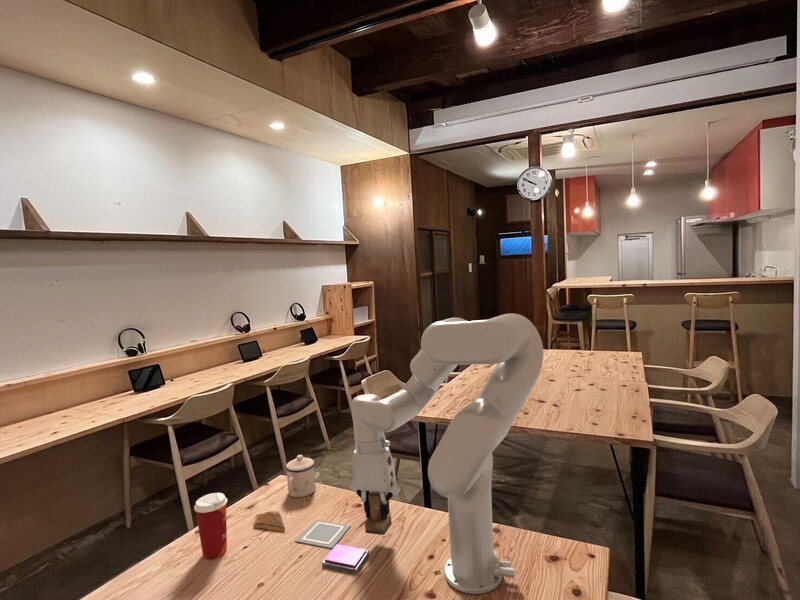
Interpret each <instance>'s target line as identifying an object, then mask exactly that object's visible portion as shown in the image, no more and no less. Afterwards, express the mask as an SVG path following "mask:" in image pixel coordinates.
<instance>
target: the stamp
mask: <svg viewBox="0 0 800 600" xmlns="http://www.w3.org/2000/svg"><path fill="white" fill-rule="evenodd" d="M368 497H369V507H370V517H369V518H366V519H365V521H364V532H365V533H366V534H371V535H372V534H374V535H378V536H385V534H386V533H387V532H388V530H389V529H390V527H391V526H392V524H393V523H392V514H391V512H390V513H389V515H388V516H387V517H386V519H385V520H382V519H381V509H380V504H381V503H382V501H381V496H380V492H374V491H370V493H369V494H368Z"/></svg>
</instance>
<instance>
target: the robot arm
mask: <svg viewBox="0 0 800 600" xmlns="http://www.w3.org/2000/svg"><path fill="white" fill-rule="evenodd" d="M420 339H421V340H420V347H421V349H419V351H418V353H417V354H416V355H415V356H414V357H413V358H412V359H411V361H410V364H409V368H410V372H411V374H412V375H411V377H410V378H409V379H408V381H407V382H406V383H405V384H404V385H403V386H402V387H401V389H400V390H398V391H396V392H394V393H392V394H390V395H389V396H386V397H384V398H381V397H380V396H379V395H377V394H374V393H365V394H360V395H357V396H355V397H353V398H352V400H351V403H350V404H351V415H352V416H351V417H352V424H353V435H354V445H355V446H354V447H355V449H354V450H353V456H352V481H351V483H350V486H349V488H350V490H351V491H353V492H354V493H356V495H357V496H358V497H359V498H360V500H361V502H362V503H363V509H364V513H365V518H366V519H367V518H369V517H370V507H369V497H368V494H369V493H370V492H373V491H374V492H380V496H381V501H382V503H381V504H380V509H381V519H382V520H385V519H386V517H387V516H388V515H389V513H391V510H390V500H391V499H392V498H393V497H394V496H396V495H397V494H399V493H400V492H401V487H400V486H399V484H398V482H397V479H396V478H397V477H396V472H395V465H394V461H393V457H392V454H391V450H390V448H389V447H390V446H391V440H387V438H386V436H385V433H389V432H392V431H395V430H397V429H398V428H400V427H401V426H402V425H404V424H405V423H408V422H409V421H411V420H412V419H414V418H415V417H416V416H417V415H419V413H421V411H423V409H424V408H425V407H426V406H427V404H429V403H430V402H431V400H432V399H433V398H434V396H435V395H436V393H437V392H438V390H439V388H440V386H441V385H442V384H443V383H444V381H446V379H447V378H448V377H449V376H450V375H451V373H452V372H454V370H455V369H456V368H457V367H458V365H460V366H461V365H465V366H467V365H496V366H495V367H494V369H493V370H492V372H491V374H490V375H489V377H488V379H487V381H486V383H485V385H484V386H483V388H482V389H481V391H480V393H478V395H477V397H476V398H475V399H474V400H473V401H471V402H470V403H469V404H467V405H466V406H465V407H464V408H462V409H461V410H460V411H458V413H456V414H455V416H454V417H453V418H452V420H451V421H450V422H449V424H448V426H447V428H446V429H445V431H444V433H443V435H442V437H441V439H440V441H439V442H438V444H437V446H436V447H435V450H434V451H433V453H432V455H431V456H430V459H429V461H428V466H427V477H428V480H429V483H430V485H431V487H432V489H433V490H434V491H435V492H436V493H437V494H438V495H440V496H441V497H444V498H447V508H448V509H447V511H448V527H449V544H450V545H449V547H450V558H449V559H448V560H447V562H446V563H445V564H444V565H445V566H444V577H445V579H446V581H447V582H448V584H449V585H450V586H451V587H453V589H455V590H458V591H460V592H462V593H466V594H468V595H469V594H470V595H482V594H486V593H489V592H491V591H493V590H495V589H496V588H497V587H498V586H500V584H501V583H502V580H503V577H504V578H508V579H509V578H510V579H516V568H515V567H512V566H511V563H512V562H511V561H510V560H503V559H500V558H498V550H495V549H494V548H495V547H494V546H495V545H494V534H493V533H494V529H493V528H494V527H493V510H492V509H493V503H492V502H493V501H492V478H493V477H492V476H493V466H494V464H493V463H494V460H493V457H494V456H493V452H494V451H495V449H496V448H497V447H498V446H499V445H500V444H501V442H502V441H504V440H505V438H506V436H507V435H508V433H509V431H510V429H511V427H512V425H513V424H514V422H515V420H516V418H517V416H518V414H519V413H520V411H521V410H522V408H523V406H524V404H525V402H526V401H527V399H528V397H529V396H530V393H531V392H532V391H533V388H534V386H535V385H536V382H537V381H538V378H539V377H540V373H541V370H542V368H543V362H544V345H543V341H542V337H541V336H540V333H539V331H538V329H537V328H536V326H535V325H534V324H533V322H532V321H531V320H530V319H528V318H527V317H525V316H524V315H522V314H518V313H504V314H500V315H498V316H494V317H492V318H489V319H479V320H471V321H468V320H466V319H464V318H462V317H450V318H446V319H443V320H438V321H435V322H433V323H431V324H430V325H429V326H427V327H426V329H425V330H424V331H423V333H422V335H421V338H420Z"/></svg>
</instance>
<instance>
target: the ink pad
mask: <svg viewBox="0 0 800 600" xmlns="http://www.w3.org/2000/svg"><path fill="white" fill-rule="evenodd" d="M369 555H370V551H369V550H367V549H364V548H360V547H355V546H349V545H344V544H338V543H337V544H336V545H335V546H334V547H333V549H331V550H330V552H329V553H328V554H327V555H326V556H325V558H324V559H323V560H322V561H321V567H323V568H329V569H333V570H337V571H342V572H347V573H352V574H358V572H359V570H360V569H361V567H362V566H363V565H364V563H365V562H366V560H367V559H368V557H369Z"/></svg>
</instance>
